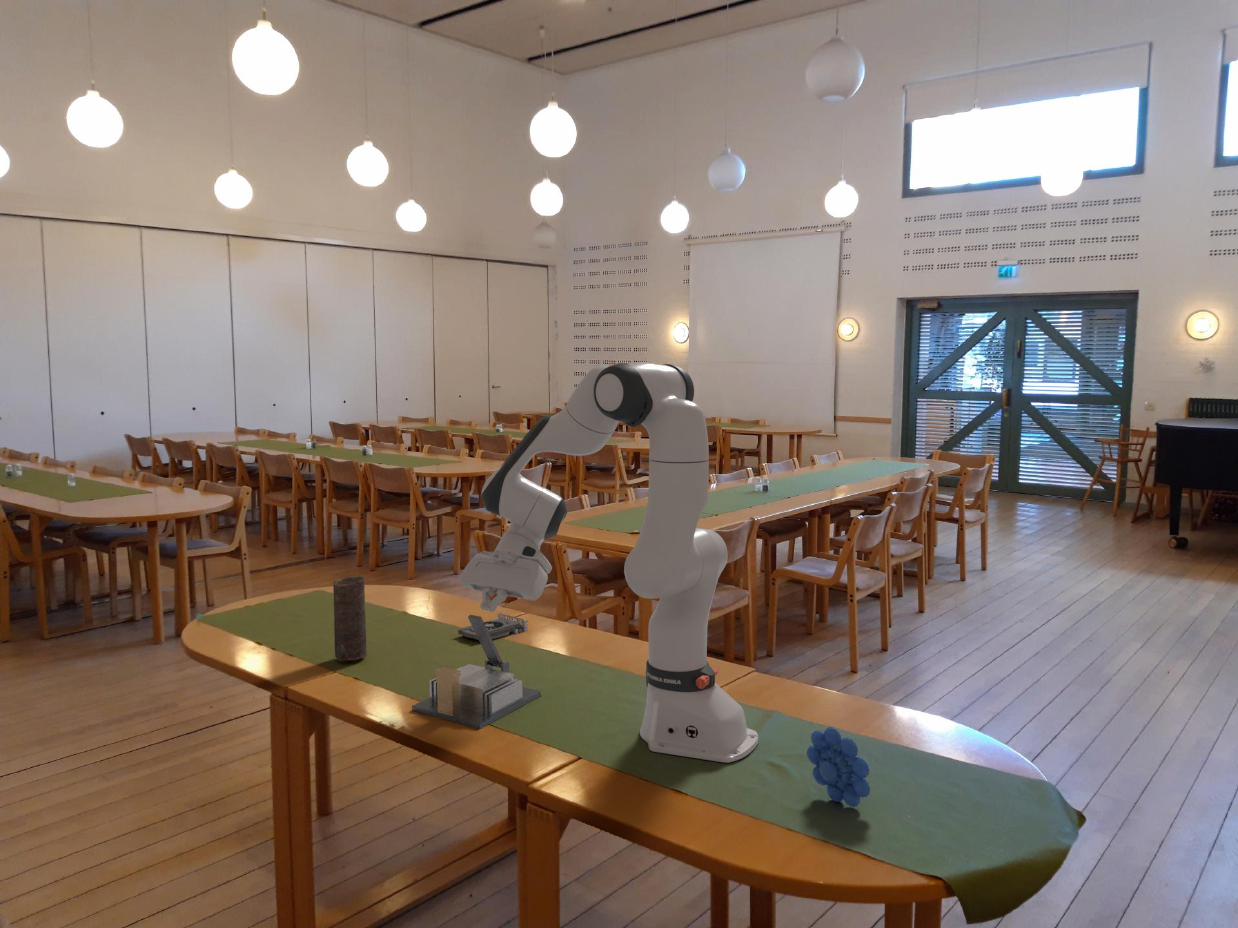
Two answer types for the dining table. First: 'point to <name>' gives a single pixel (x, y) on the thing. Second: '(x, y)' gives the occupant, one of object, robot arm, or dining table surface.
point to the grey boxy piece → (474, 694)
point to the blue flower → (838, 766)
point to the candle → (349, 618)
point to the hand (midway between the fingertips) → (486, 609)
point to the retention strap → (485, 640)
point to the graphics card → (498, 627)
